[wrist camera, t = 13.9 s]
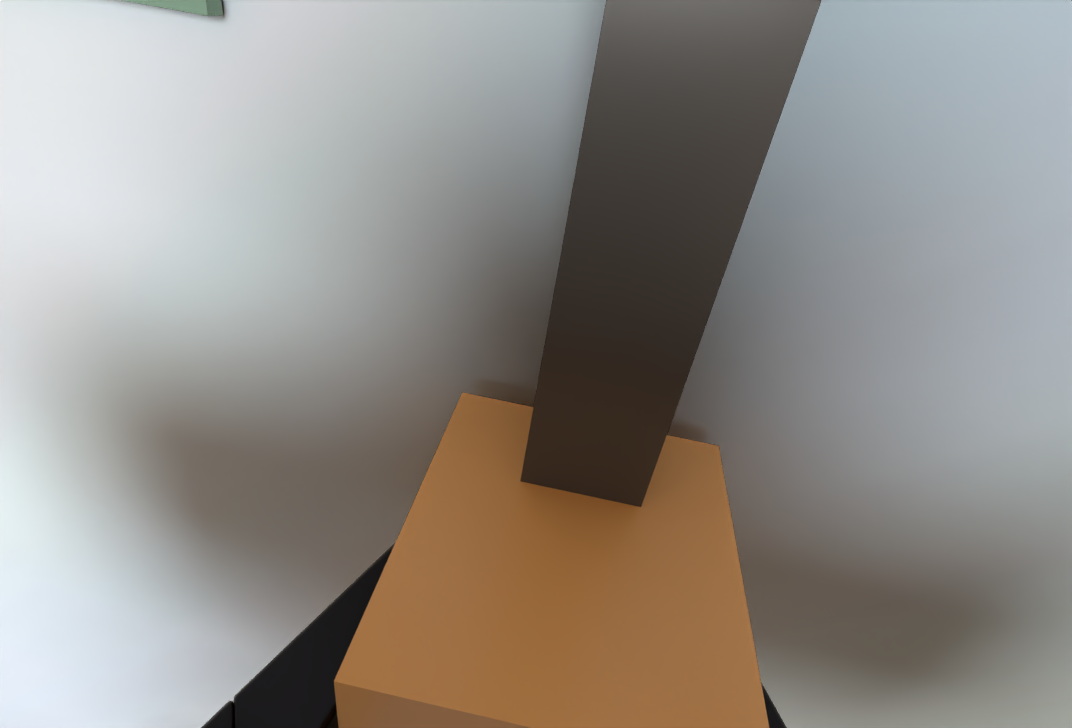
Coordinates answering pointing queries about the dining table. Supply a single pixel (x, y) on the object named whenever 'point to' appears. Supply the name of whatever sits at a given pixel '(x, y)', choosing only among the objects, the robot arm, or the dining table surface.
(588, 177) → the plug
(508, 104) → the dining table surface
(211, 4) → the pad
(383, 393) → the dining table surface
